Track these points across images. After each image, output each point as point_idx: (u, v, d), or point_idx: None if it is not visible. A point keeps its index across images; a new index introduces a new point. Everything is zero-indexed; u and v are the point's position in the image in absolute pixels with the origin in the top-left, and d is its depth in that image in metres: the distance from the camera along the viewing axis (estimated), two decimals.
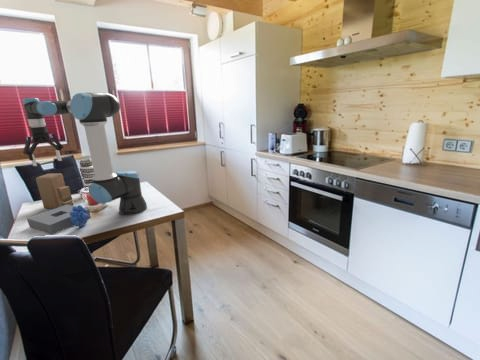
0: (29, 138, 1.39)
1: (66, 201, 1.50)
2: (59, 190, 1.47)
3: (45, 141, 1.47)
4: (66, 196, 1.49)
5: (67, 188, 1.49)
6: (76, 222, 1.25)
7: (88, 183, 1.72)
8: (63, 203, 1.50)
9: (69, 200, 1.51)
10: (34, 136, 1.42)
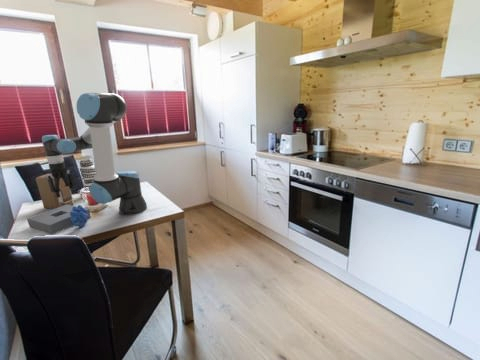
0: (49, 177, 1.41)
1: (66, 201, 1.50)
2: (59, 190, 1.47)
3: (63, 176, 1.48)
4: (66, 196, 1.49)
5: (67, 188, 1.49)
6: (76, 222, 1.25)
7: (88, 183, 1.72)
8: (63, 203, 1.50)
9: (69, 200, 1.51)
10: (52, 173, 1.43)
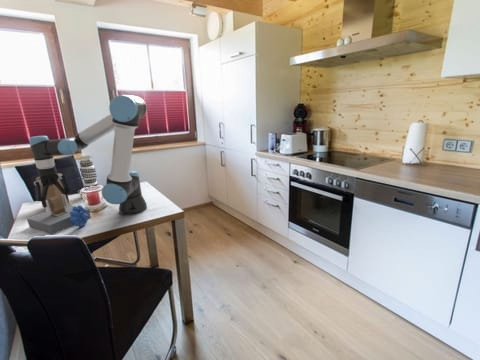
0: (37, 183, 1.23)
1: (58, 213, 1.32)
2: (50, 201, 1.30)
3: (54, 183, 1.30)
4: (59, 208, 1.32)
5: (60, 199, 1.32)
6: (76, 222, 1.25)
7: (88, 183, 1.72)
8: (55, 216, 1.32)
9: (62, 212, 1.34)
10: (42, 179, 1.25)
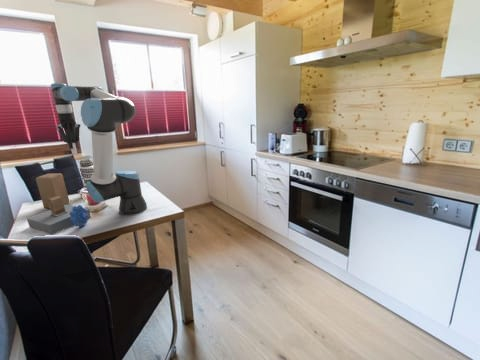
0: (59, 128, 1.40)
1: (58, 213, 1.32)
2: (50, 201, 1.30)
3: None
4: (59, 208, 1.32)
5: (60, 199, 1.32)
6: (76, 222, 1.25)
7: None
8: (55, 216, 1.32)
9: (62, 212, 1.34)
10: (61, 123, 1.41)
